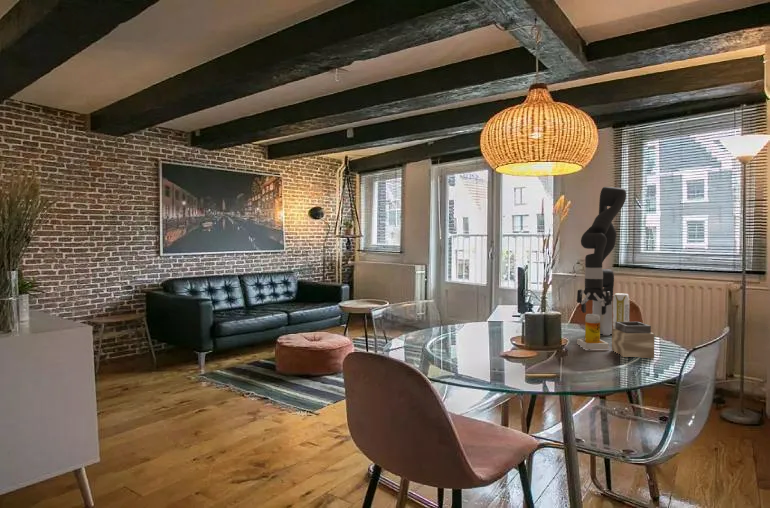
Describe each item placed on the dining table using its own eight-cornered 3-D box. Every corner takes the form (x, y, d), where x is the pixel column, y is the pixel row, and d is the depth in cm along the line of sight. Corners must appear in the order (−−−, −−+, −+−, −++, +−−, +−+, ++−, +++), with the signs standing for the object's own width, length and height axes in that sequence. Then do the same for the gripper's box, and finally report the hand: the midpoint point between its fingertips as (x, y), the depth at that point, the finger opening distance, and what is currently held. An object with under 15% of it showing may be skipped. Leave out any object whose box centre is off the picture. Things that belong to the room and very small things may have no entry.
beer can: (595, 350, 213) (595, 316, 213) (582, 347, 218) (582, 314, 218) (602, 347, 217) (602, 314, 217) (589, 345, 222) (589, 313, 221)
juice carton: (629, 328, 261) (629, 293, 260) (627, 331, 253) (628, 295, 253) (614, 327, 265) (614, 292, 264) (612, 330, 257) (612, 294, 257)
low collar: (577, 345, 223) (577, 338, 223) (599, 345, 223) (599, 338, 223) (585, 350, 213) (585, 343, 213) (608, 350, 213) (608, 343, 213)
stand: (611, 350, 212) (612, 321, 211) (639, 350, 211) (639, 321, 211) (624, 357, 200) (625, 326, 199) (654, 357, 199) (654, 326, 199)
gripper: (574, 277, 219) (574, 313, 219) (606, 278, 209) (606, 316, 209) (581, 276, 224) (581, 311, 225) (613, 277, 214) (613, 314, 214)
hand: (593, 313), depth 217 cm, fingers open, 8 cm apart
